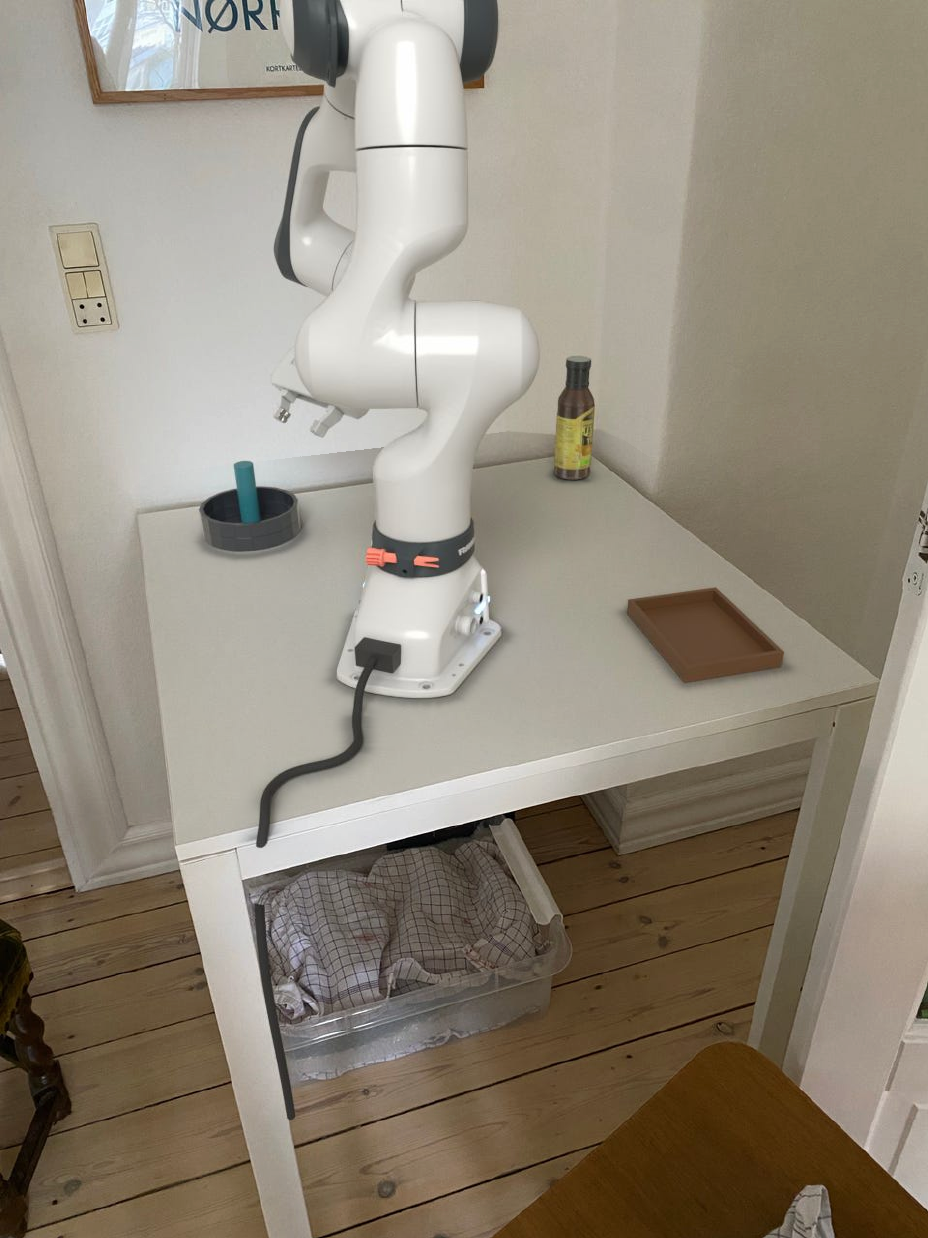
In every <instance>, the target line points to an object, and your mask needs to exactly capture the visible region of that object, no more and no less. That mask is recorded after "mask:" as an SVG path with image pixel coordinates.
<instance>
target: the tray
mask: <svg viewBox="0 0 928 1238" xmlns="http://www.w3.org/2000/svg"><path fill="white" fill-rule="evenodd" d="M626 615H627V616H628V617H629V618H630V620H631V621H632V622H633V623H634V624H635V625H636V627H637V628H638V629H639V630H640V631H641V633H642V634H643V635H644V636H645V638H646V639H647V640H648V641H649V642H650V644H651V645H652V646H653V647H654V648H655V649H656V651H657V652H658V653H659V654H660V655H661V657H662V658H663V659H664V660H665V662H666V663H667V664H668V665H669V667H671V669H672V670H673V671H674V672H675V673H676V676H678V677H679V678H680V680H681V681H682V682H683V683H684V684H687V683H691V682H698V681H704V680H710V679H718V678H722V677H728V676H729V677H730V676H734V675H741V674H747V673H748V674H749V673H754V672H760V671H766V670H772V669H778V668H782V665H783V660H784V655H785V651H784V650H783V649H782V647H780V646H779V645H777V643H775V641H774V640H772V639H771V638H770V637H769V636H768V635H767V634H766V633H765V632H764V631H763V630H762V629H761V628H760V627H758V626H757V625H756V623H755V622H753V621H752V620H751V619H750V618H749V617H748V616H747V615H746V614H745V613H744V612H743V611H742V610H741V609H740V608H738V607H737V606H736V605H735V604H734V602H732V601H731V600H730V599H729V598H728V597H727V596H726V595H725V594H724V593H723V592H722V591H721V590H720V589H718V588H717V587H707V588H700V589H693V590H687V591H680V592H672V593H671V592H670V593H666V594H658V595H650V596H644V597H636V598H629V599H627V608H626Z"/></svg>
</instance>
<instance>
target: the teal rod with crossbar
mask: <svg viewBox="0 0 928 1238" xmlns="http://www.w3.org/2000/svg"><path fill="white" fill-rule="evenodd" d="M233 471H234V478H235V479H234V480H235V486H236V489H237V494H238V501H239V508H240V515H241V522H242V523H251V522H257V521H261V519H262V518H261V517H260V511H259V503H258V496H257V488H256V487H257V482H256V481H257V480H256V473H255V466H254V462H253V461H250V460H240V461H236V462H235V463H234V464H233Z"/></svg>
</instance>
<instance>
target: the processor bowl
mask: <svg viewBox="0 0 928 1238" xmlns="http://www.w3.org/2000/svg"><path fill="white" fill-rule="evenodd" d="M256 488H257V496H258V503H259V511H260V517H261V518H262V519H261V521H257V522H251V523H242V522H241V515H240V508H239V501H238V494H237V488H232V489H229V490H224V491H221V492H218V493H216V494H213V495H211V496H209V497H208V498H206V499H205V500H204V501H202V502H201V503H200V506H199V508H198V512H199V518H200V525H201V532H202V536H203V539H204V541H205V542H206V543H207V544H208V545H209V546H211V547H213V548H215V549H219V550H223V551H226V552H237V553H238V552H239V553H240V552H241V553H245V552H259V551H264V550H270V549H272V548H276V547H279V546H281V545H284V544H287V543H288V542H289V541H291V540H293V539H294V538H295V537H296V536H298V534H299V533H300V531H301V526H302V524H301V515H300V506H299V505H300V504H299V500H298V498H297V496H296V495H295V494H294V493H292V492H290V491H289V490H287V489H283V488H279V487H275V486H274V487H273V486H262V485H260V486H258V485H257V486H256Z"/></svg>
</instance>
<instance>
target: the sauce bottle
mask: <svg viewBox="0 0 928 1238" xmlns="http://www.w3.org/2000/svg"><path fill="white" fill-rule="evenodd" d="M591 367H592V358H590V357H588V356H583V355H570V356H567V358H566V360H565V368H566V377H565V387H564V389H563V390H562V391H561V393H560V394H559V396H558V398H557V412H556V418H555V419H556V420H555V439H554V440H555V441H554V456H553V457H554V458H553V461H554V462H553V464H554V469H553V471H554V476H556V477H557V478H559V479H563V480H571V481H577V480H583V479H585V478H587V477H588V476H589V475H590V474H591V470H590V469H591V465H592V453H593V440H594V428H595V427H594V424H595V410H596V404H595V398H594V395H593V393H592V392H591V389H590V388H589V386H590V371H591Z"/></svg>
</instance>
